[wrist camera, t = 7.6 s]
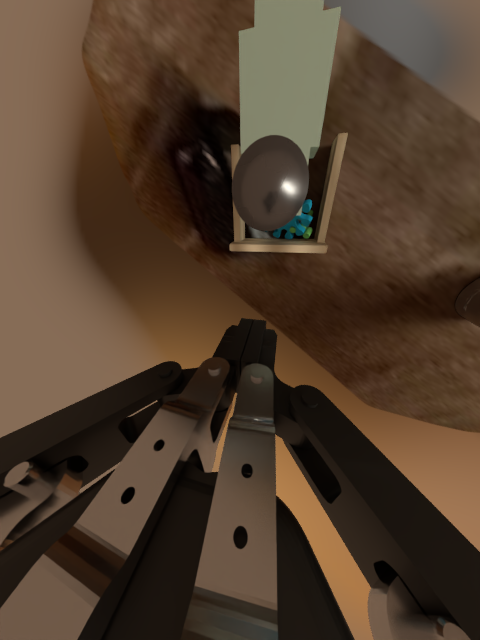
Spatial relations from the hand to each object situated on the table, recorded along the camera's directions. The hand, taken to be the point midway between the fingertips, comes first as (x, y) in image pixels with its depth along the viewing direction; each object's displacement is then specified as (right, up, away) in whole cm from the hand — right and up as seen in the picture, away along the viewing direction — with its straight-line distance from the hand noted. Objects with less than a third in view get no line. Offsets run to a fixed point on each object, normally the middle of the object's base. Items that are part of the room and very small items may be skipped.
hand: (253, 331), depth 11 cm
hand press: (+6, +24, +16) cm, 30 cm away
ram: (+3, +14, +8) cm, 17 cm away
